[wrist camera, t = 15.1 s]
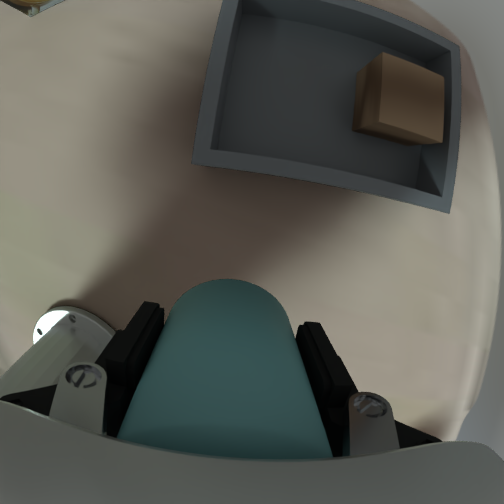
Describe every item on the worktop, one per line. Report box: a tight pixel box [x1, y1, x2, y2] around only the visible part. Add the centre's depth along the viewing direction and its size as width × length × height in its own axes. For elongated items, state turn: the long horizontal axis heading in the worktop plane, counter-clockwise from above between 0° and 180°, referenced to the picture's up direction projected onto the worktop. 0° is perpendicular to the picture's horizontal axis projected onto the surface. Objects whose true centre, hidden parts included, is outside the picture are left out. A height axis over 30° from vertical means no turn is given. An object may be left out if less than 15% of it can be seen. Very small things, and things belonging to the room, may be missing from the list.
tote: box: [191, 0, 461, 214], centre depth 18 cm, size 18×14×5 cm
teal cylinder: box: [117, 279, 333, 459], centre depth 8 cm, size 5×5×7 cm
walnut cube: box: [352, 52, 444, 146], centre depth 17 cm, size 5×5×5 cm
